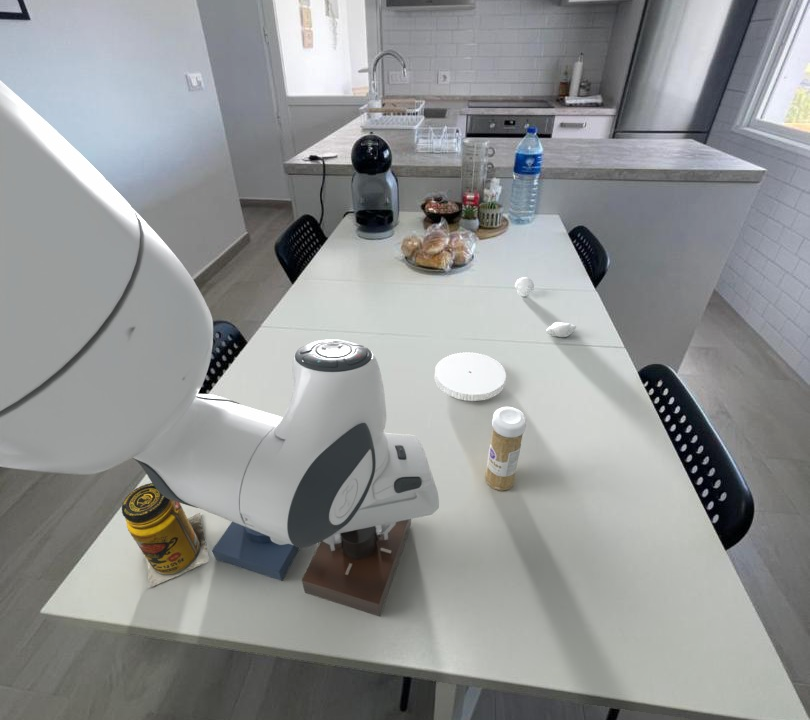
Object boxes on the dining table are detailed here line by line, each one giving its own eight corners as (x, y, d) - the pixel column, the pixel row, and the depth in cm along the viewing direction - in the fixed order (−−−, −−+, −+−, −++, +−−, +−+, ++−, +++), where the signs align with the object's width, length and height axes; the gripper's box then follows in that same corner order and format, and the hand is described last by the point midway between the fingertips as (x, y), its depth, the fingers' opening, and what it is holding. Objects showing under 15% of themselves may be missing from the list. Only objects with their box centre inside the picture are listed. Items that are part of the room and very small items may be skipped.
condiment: (149, 588, 57) (112, 533, 50) (146, 535, 63) (112, 479, 56) (210, 562, 59) (182, 506, 52) (200, 514, 65) (174, 458, 58)
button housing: (282, 581, 57) (276, 564, 55) (215, 560, 60) (207, 542, 57) (323, 505, 66) (319, 487, 64) (264, 489, 69) (258, 472, 67)
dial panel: (380, 616, 53) (378, 603, 51) (305, 592, 56) (301, 579, 54) (411, 524, 63) (410, 511, 62) (346, 507, 66) (344, 494, 64)
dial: (374, 526, 60) (372, 508, 58) (378, 556, 56) (377, 538, 54) (341, 531, 59) (338, 513, 57) (343, 562, 56) (340, 545, 54)
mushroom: (509, 294, 120) (512, 277, 117) (522, 289, 122) (524, 272, 120) (524, 301, 117) (526, 284, 114) (536, 296, 119) (539, 278, 116)
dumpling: (553, 345, 101) (551, 329, 99) (543, 336, 105) (541, 321, 103) (582, 336, 101) (581, 320, 99) (571, 328, 106) (570, 313, 104)
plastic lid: (451, 355, 97) (451, 345, 96) (513, 373, 92) (515, 363, 90) (422, 391, 87) (422, 381, 86) (490, 413, 82) (492, 403, 80)
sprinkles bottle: (478, 477, 70) (486, 413, 62) (500, 464, 72) (510, 401, 64) (498, 497, 67) (509, 432, 59) (520, 483, 69) (533, 419, 61)
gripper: (251, 510, 45) (276, 581, 53) (445, 473, 49) (441, 546, 57) (254, 463, 50) (277, 535, 58) (430, 433, 54) (428, 505, 62)
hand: (359, 540), depth 58 cm, fingers closed on dial, 4 cm apart
